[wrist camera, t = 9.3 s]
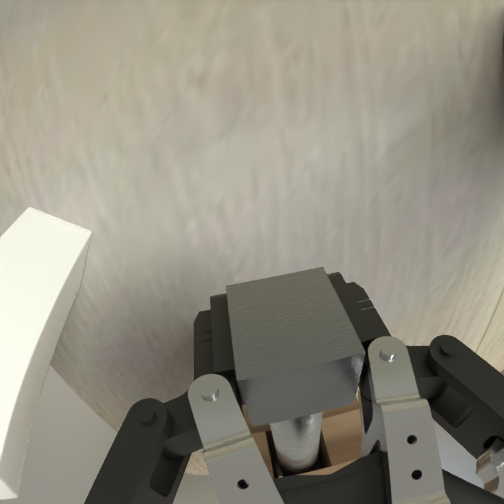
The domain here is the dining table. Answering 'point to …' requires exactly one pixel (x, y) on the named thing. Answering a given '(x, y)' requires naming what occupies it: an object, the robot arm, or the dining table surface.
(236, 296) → the shaft
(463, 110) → the dining table surface
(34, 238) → the milk
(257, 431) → the bearing block
